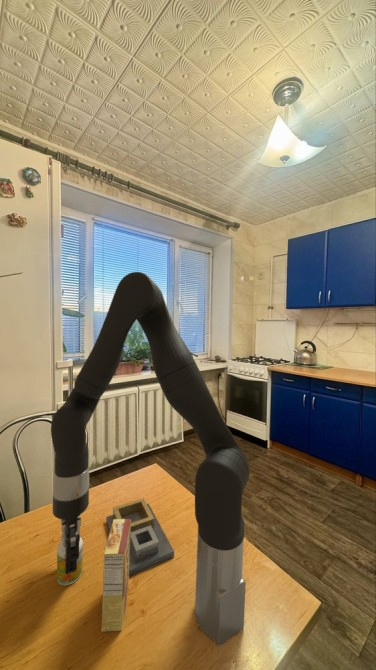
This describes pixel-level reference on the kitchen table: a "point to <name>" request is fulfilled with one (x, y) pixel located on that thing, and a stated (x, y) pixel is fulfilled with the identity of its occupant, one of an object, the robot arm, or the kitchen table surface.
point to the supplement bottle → (61, 574)
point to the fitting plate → (143, 536)
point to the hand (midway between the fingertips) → (70, 559)
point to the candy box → (116, 575)
